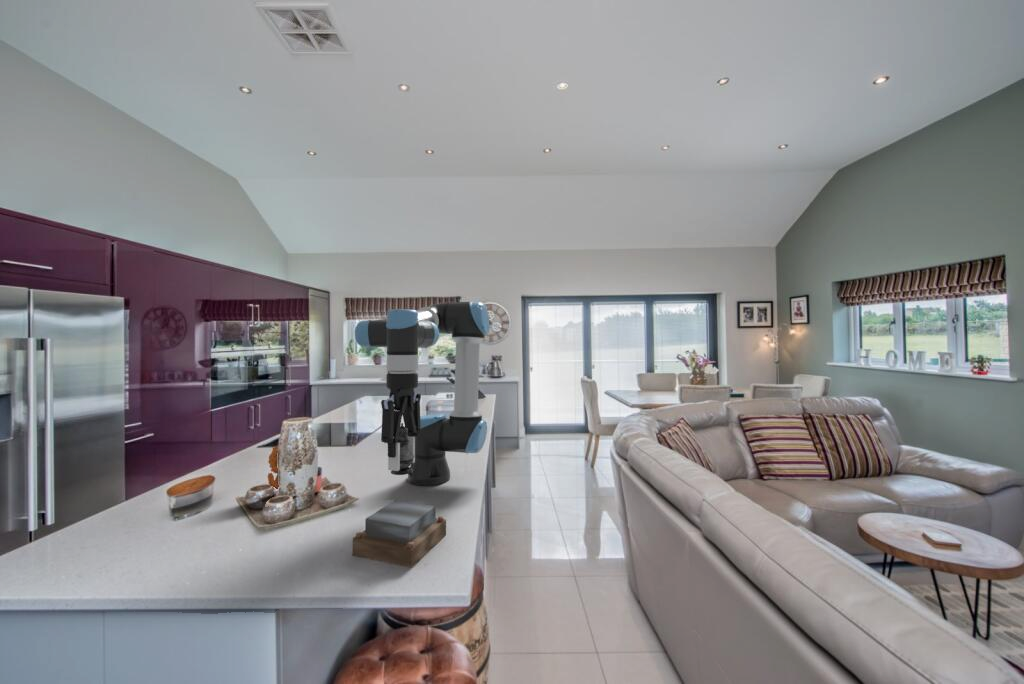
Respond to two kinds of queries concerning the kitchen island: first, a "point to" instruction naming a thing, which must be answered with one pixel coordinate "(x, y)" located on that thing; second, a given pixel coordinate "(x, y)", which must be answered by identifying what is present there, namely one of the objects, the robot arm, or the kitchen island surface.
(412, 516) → the sharpening stone holder
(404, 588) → the kitchen island surface
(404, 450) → the dark grey tall piece
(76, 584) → the kitchen island surface
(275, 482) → the toy dinosaur
